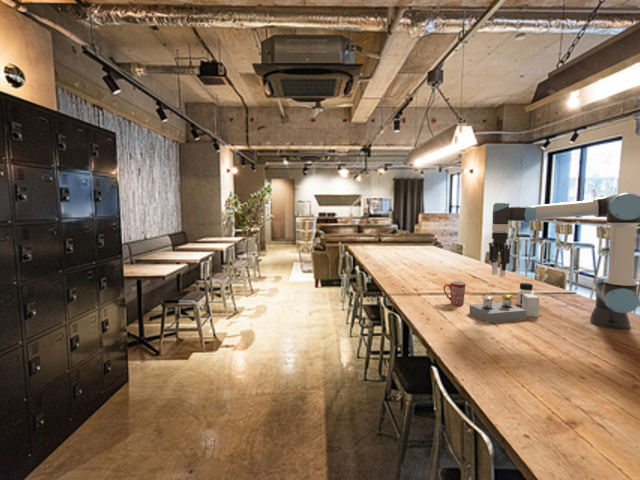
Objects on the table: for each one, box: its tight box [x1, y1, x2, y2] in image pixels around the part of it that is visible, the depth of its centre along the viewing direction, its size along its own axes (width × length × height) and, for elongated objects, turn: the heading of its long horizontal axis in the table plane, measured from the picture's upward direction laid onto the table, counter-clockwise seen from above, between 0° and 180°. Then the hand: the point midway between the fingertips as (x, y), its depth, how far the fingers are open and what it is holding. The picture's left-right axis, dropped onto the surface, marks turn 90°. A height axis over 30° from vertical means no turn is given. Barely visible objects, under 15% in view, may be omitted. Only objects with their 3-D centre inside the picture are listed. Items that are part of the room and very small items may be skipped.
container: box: [516, 282, 535, 306], centre depth 203 cm, size 8×8×13 cm
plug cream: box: [482, 295, 494, 310], centre depth 180 cm, size 5×5×7 cm
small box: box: [521, 294, 540, 317], centre depth 184 cm, size 8×6×10 cm
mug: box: [443, 280, 467, 307], centre depth 206 cm, size 13×9×14 cm
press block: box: [468, 301, 527, 324], centre depth 181 cm, size 16×22×5 cm
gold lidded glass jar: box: [501, 293, 514, 308], centre depth 182 cm, size 5×5×7 cm
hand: (498, 275), depth 180 cm, fingers open, 5 cm apart
